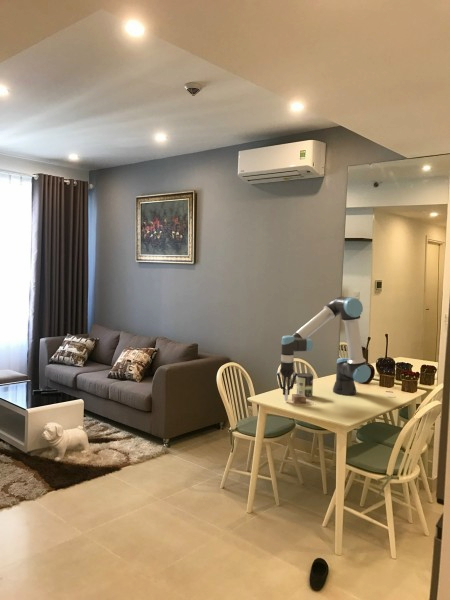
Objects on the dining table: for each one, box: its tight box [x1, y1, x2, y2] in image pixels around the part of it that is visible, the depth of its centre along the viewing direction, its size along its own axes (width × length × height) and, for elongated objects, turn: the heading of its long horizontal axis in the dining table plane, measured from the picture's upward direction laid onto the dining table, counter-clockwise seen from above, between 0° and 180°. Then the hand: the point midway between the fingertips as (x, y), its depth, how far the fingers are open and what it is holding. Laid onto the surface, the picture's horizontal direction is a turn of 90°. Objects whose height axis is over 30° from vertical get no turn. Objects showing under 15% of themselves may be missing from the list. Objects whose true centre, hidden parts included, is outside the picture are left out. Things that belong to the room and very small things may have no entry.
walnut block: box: [291, 393, 307, 404], centre depth 293 cm, size 7×7×4 cm
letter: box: [286, 399, 317, 406], centre depth 293 cm, size 16×12×1 cm
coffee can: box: [296, 372, 314, 399], centre depth 307 cm, size 10×10×14 cm
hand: (285, 400), depth 292 cm, fingers closed
